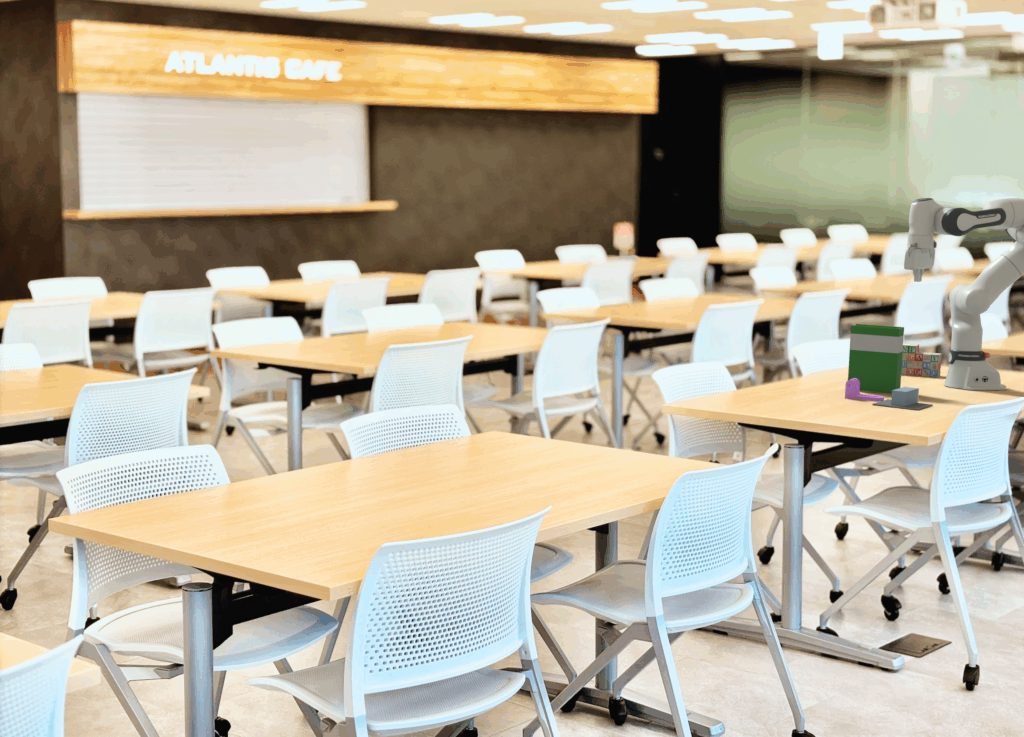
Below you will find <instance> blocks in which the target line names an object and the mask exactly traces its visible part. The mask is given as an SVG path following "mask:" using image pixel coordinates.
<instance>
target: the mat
mask: <svg viewBox="0 0 1024 737" xmlns="http://www.w3.org/2000/svg"><path fill="white" fill-rule="evenodd" d="M871 405H872V406H877V407H879V406H880V407H884V408H885V407H886V408H887V407H888V408H893V409H900V410H901V409H903V410H911V411H920V410H923V409H927V408H930V407H932V406H933V405H934V404H933V403H932V404H931V403H922V402H918V403H914V404H911V405H908V406H898V405H891V399H889V398H887V399H884V401H876V402H873V403H872V404H871Z"/></svg>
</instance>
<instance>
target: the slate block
mask: <svg viewBox="0 0 1024 737" xmlns="http://www.w3.org/2000/svg"><path fill="white" fill-rule="evenodd" d="M919 391H920V388H919V387H913V386H901V387H900V388H899V389H895V390H892V394H891V399H890V400H891V405H898V406H908V405H911V404H914V403H919V395H920V392H919Z"/></svg>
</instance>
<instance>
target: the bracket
mask: <svg viewBox="0 0 1024 737" xmlns="http://www.w3.org/2000/svg"><path fill="white" fill-rule="evenodd" d="M844 388H845V389H844V390H845V391H844V399H846V398H849V400H850V399H851V400H857V399H858V400H859V401H870V402H880V401H884V400H885V397H884V396H883V395H877V394H864V393H860V391H859V390H860V381H859V380H858V379H857V378H852V379H850V380H848V379H847V381H846V382H845V387H844ZM858 400H857V401H858Z"/></svg>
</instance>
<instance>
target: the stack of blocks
mask: <svg viewBox="0 0 1024 737" xmlns="http://www.w3.org/2000/svg"><path fill="white" fill-rule="evenodd" d="M942 354H943V353H940V352H939V353H937V352H924V351H920V344H915V343H903V354H902V370H901V376H912V375H914V376H915V377H928V378H939V377H940V376H941V369H942V367H941V366H942V356H943V355H942Z"/></svg>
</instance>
